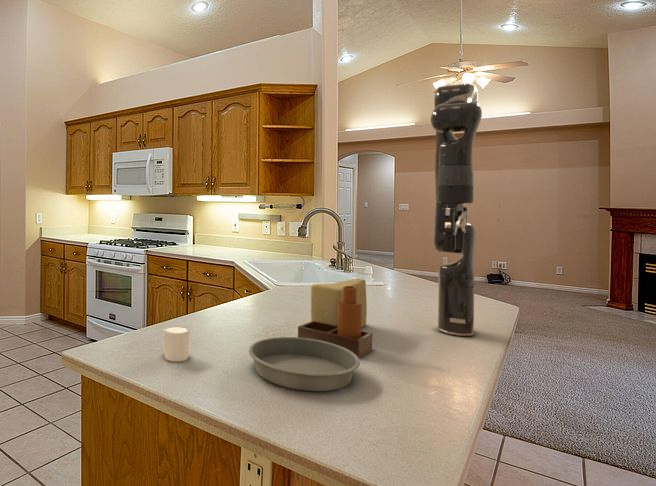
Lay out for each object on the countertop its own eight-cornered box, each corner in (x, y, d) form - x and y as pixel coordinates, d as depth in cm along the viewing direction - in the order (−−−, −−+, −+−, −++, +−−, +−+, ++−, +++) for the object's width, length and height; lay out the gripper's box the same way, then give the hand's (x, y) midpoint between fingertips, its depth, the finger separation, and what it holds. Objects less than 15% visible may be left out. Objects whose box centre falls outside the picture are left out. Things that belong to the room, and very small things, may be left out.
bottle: (343, 342, 123) (343, 284, 123) (364, 347, 119) (365, 287, 119) (333, 347, 119) (334, 287, 119) (355, 352, 115) (356, 290, 115)
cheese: (350, 321, 148) (350, 275, 148) (378, 328, 140) (379, 280, 140) (309, 332, 134) (309, 283, 134) (338, 341, 127) (339, 288, 127)
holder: (313, 336, 131) (313, 320, 131) (372, 350, 119) (372, 333, 119) (297, 343, 125) (297, 326, 125) (358, 358, 113) (358, 340, 113)
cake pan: (299, 404, 87) (299, 381, 87) (228, 363, 109) (228, 344, 109) (384, 382, 98) (384, 361, 98) (304, 348, 120) (304, 331, 120)
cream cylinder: (194, 355, 114) (194, 327, 114) (183, 364, 108) (183, 335, 108) (170, 351, 117) (170, 324, 117) (158, 359, 111) (158, 331, 111)
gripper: (445, 185, 119) (444, 246, 119) (430, 183, 108) (429, 250, 109) (479, 184, 113) (478, 248, 114) (466, 182, 103) (465, 253, 103)
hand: (454, 249), depth 111 cm, fingers open, 8 cm apart
